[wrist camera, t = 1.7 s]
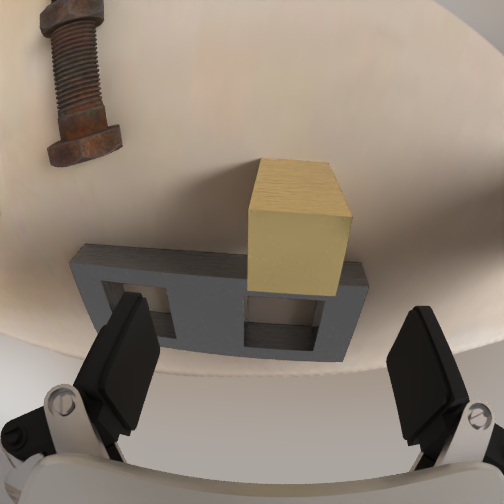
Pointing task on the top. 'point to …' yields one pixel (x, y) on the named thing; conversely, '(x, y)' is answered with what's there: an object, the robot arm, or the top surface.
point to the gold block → (296, 229)
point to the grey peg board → (217, 303)
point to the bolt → (77, 82)
